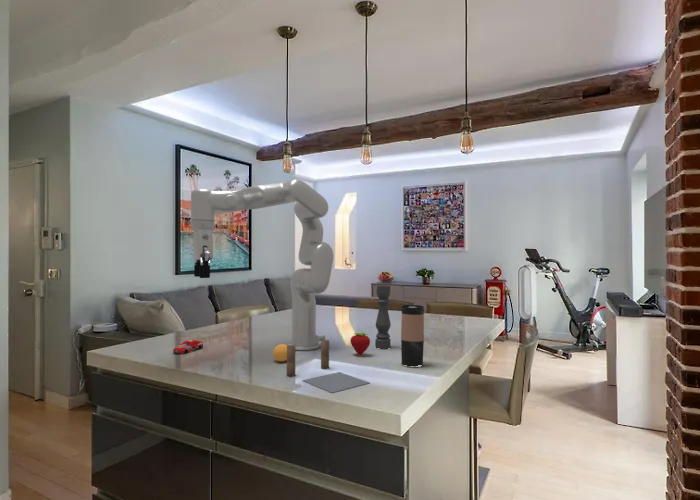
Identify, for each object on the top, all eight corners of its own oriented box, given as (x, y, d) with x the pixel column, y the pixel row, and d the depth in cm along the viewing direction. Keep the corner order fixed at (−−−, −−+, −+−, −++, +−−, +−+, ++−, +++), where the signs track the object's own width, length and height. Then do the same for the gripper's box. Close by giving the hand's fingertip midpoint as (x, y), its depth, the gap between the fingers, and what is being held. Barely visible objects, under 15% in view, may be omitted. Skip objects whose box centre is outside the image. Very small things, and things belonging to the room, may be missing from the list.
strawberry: (353, 352, 158) (353, 326, 158) (372, 354, 155) (372, 328, 156) (347, 356, 153) (348, 328, 153) (366, 358, 150) (367, 330, 150)
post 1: (292, 373, 129) (292, 344, 129) (296, 375, 127) (297, 346, 127) (284, 375, 127) (285, 345, 128) (289, 376, 126) (289, 347, 126)
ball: (284, 358, 148) (285, 341, 148) (294, 361, 143) (294, 344, 144) (269, 361, 144) (270, 343, 144) (278, 364, 140) (279, 346, 140)
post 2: (325, 366, 138) (325, 339, 138) (330, 368, 136) (330, 340, 136) (319, 367, 136) (319, 340, 136) (324, 369, 134) (324, 341, 134)
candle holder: (374, 346, 170) (374, 285, 171) (389, 346, 171) (389, 285, 171) (376, 349, 164) (377, 286, 165) (391, 349, 165) (392, 286, 165)
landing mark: (339, 372, 131) (339, 372, 131) (369, 383, 120) (369, 382, 120) (302, 380, 122) (302, 380, 122) (331, 393, 111) (331, 392, 111)
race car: (181, 356, 151) (181, 345, 151) (169, 354, 153) (170, 344, 153) (205, 348, 164) (205, 338, 164) (194, 347, 165) (194, 337, 165)
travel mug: (425, 363, 144) (425, 305, 144) (421, 368, 137) (422, 307, 137) (403, 361, 146) (403, 304, 147) (398, 366, 139) (399, 306, 139)
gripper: (219, 225, 134) (219, 278, 134) (208, 228, 149) (208, 275, 149) (195, 224, 130) (194, 278, 130) (186, 227, 145) (185, 276, 145)
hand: (201, 277), depth 139 cm, fingers open, 9 cm apart
